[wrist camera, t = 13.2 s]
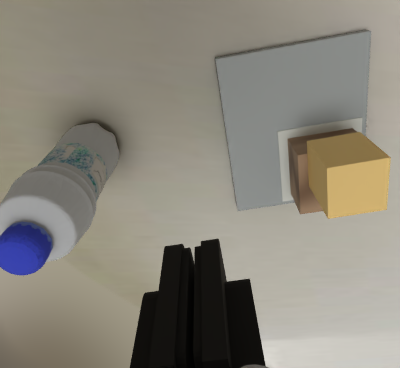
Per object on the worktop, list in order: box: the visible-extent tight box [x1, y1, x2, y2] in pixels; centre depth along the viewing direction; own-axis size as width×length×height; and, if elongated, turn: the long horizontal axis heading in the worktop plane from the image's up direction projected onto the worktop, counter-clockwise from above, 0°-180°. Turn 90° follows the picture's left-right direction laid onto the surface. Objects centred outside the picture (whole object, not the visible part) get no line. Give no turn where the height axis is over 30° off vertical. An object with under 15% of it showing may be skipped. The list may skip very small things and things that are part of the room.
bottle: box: [0, 123, 120, 275], centre depth 31 cm, size 7×7×20 cm
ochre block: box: [307, 132, 391, 219], centre depth 32 cm, size 5×5×6 cm
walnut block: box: [287, 128, 357, 214], centre depth 38 cm, size 7×7×4 cm
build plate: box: [215, 30, 371, 211], centre depth 38 cm, size 18×15×1 cm
